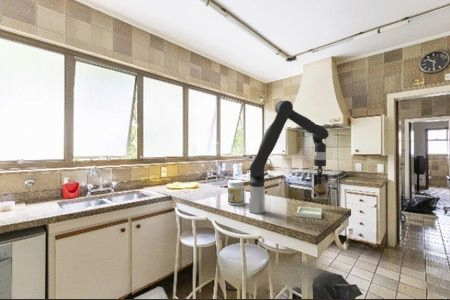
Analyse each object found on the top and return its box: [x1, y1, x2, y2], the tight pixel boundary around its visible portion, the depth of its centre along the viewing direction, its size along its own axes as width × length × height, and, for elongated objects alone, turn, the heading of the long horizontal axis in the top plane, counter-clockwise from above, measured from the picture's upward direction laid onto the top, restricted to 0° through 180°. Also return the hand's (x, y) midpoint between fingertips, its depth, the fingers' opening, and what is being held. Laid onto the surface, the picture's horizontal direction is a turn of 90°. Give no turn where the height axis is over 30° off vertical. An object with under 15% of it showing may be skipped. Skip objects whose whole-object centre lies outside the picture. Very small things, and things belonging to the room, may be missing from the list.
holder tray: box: [296, 206, 323, 220], centre depth 148 cm, size 14×14×3 cm
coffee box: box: [310, 173, 329, 200], centre depth 158 cm, size 9×6×16 cm
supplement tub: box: [227, 179, 245, 206], centre depth 176 cm, size 12×12×17 cm
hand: (319, 183), depth 158 cm, fingers closed on coffee box, 7 cm apart
